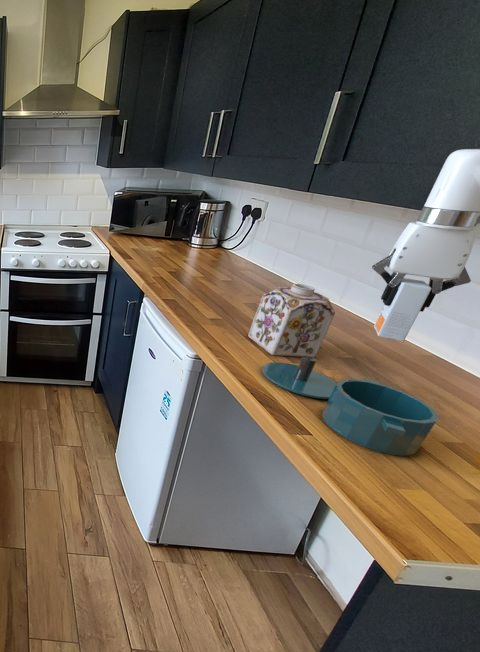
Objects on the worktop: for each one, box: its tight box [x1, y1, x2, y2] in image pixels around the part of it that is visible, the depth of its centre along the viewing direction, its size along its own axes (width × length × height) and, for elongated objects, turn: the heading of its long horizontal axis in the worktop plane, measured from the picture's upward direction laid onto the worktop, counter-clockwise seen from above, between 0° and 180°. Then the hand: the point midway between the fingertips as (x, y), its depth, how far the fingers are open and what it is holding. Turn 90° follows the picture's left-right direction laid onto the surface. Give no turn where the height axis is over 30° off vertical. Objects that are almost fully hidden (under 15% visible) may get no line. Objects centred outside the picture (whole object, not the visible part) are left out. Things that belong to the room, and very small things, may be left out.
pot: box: [321, 377, 440, 457], centre depth 78 cm, size 14×19×8 cm
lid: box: [261, 356, 338, 400], centre depth 93 cm, size 15×15×7 cm
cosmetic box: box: [373, 277, 432, 342], centre depth 85 cm, size 6×4×12 cm
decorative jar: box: [247, 283, 336, 358], centre depth 108 cm, size 12×12×18 cm
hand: (402, 305), depth 84 cm, fingers closed on cosmetic box, 4 cm apart
